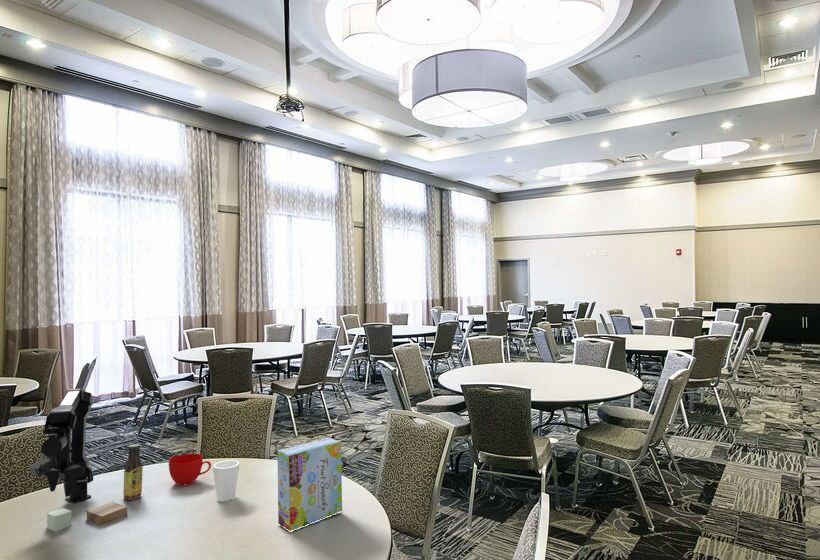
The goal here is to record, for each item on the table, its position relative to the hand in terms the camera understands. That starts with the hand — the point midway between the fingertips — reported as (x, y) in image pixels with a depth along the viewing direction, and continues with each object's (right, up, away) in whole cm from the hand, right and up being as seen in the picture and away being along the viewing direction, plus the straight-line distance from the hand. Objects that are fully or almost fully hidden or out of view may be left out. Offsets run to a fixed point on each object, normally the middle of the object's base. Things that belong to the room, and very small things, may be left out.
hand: (59, 493), depth 173 cm
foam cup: (+48, -12, +23) cm, 54 cm away
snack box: (+84, -11, +5) cm, 84 cm away
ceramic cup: (+27, -12, +39) cm, 49 cm away
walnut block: (+12, -12, +7) cm, 18 cm away
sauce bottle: (+12, -12, +24) cm, 29 cm away
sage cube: (0, -11, 0) cm, 11 cm away
